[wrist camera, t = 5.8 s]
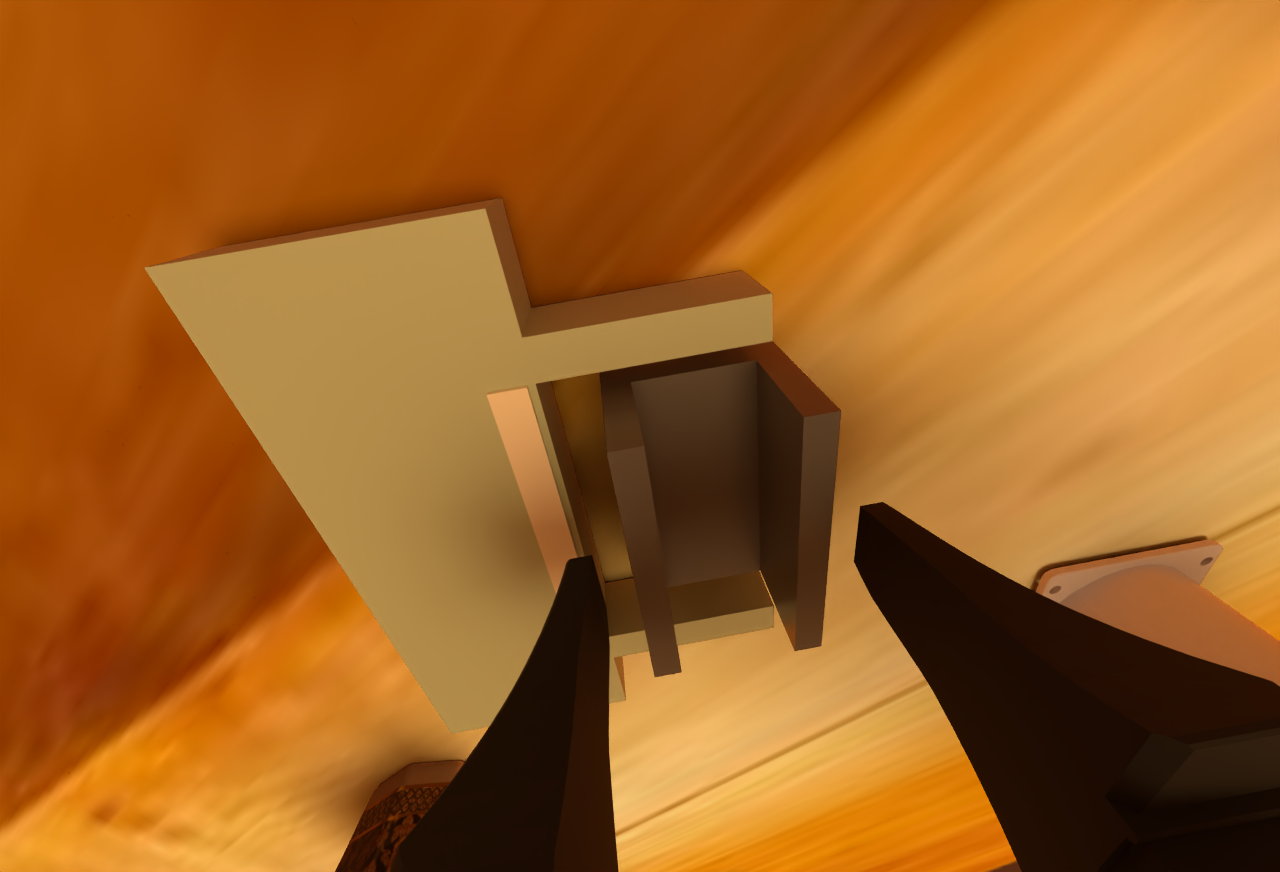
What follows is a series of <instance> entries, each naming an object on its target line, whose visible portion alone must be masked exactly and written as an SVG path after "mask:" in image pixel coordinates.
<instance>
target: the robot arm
mask: <svg viewBox="0 0 1280 872" xmlns="http://www.w3.org/2000/svg"><path fill="white" fill-rule="evenodd" d="M1222 549H1223V548H1222V545H1220V544H1219V543H1217V542H1216V541H1214V540H1203V541H1197V542H1192V543H1187V544H1181V545H1176V546H1171V547H1166V548H1160V549H1155V550H1150V551H1144V552H1139V553H1134V554H1128V555H1123V556H1118V557H1113V558H1107V559H1102V560H1097V561H1091V562H1086V563H1081V564H1075V565H1070V566H1065V567H1059V568H1054V569H1051V570H1049V571H1047V572H1046V573H1044V574H1043V576H1042V577H1041V580H1040V582H1039V584H1038V587H1037V589H1036V592H1035V591H1033V590H1030V589H1028V588H1026V587H1024V586H1022V585H1020V584H1019V583H1017V582H1015V581H1013V580H1011V579H1009V578H1007V577H1005V576H1004V575H1002V574H1000V573H998V572H996V571H994V570H993V569H991V568H989V567H987V566H985V565H984V564H982V563H980V562H978V561H977V560H975V559H973V558H972V557H970V556H968V555H966V554H965V553H963V552H961V551H960V550H958V549H956V548H955V547H953V546H952V545H950V544H948V543H947V542H945V541H943V540H942V539H940V538H939V537H937V536H935V535H934V534H932V533H931V532H929V531H928V530H926V529H925V528H923V527H921V526H920V525H918V524H917V523H915V522H914V521H912V520H911V519H909V518H907V517H906V516H904V515H903V514H901V513H900V512H898V511H897V510H895V509H893V508H892V507H890V506H889V505H887V504H885V503H884V502H880V503H875V504H869V505H864V506H860V513H859V522H858V530H857V539H856V548H855V557H854V563H855V565H856V567H857V569H858V571H859V573H860V575H861V577H862V579H863V581H864V583H865V585H866V587H867V589H868V591H869V593H870V595H871V597H872V598H873V600H874V601H875V603H876V605H877V606H878V608H879V609H880V611H881V612H882V614H883V615H884V617H885V618H886V620H887V621H888V623H889V624H890V626H891V627H892V629H893V630H894V632H895V633H896V635H897V636H898V638H899V639H900V641H901V642H902V644H903V645H904V647H905V648H906V650H907V651H908V653H909V654H910V656H911V657H912V659H913V660H914V662H915V663H916V665H917V666H918V668H919V669H920V671H921V672H922V674H923V676H924V677H925V679H926V680H927V682H928V684H929V685H930V687H931V689H932V690H933V692H934V694H935V696H936V697H937V699H938V701H939V703H940V705H941V707H942V709H943V710H944V712H945V714H946V716H947V718H948V720H949V722H950V723H951V725H952V727H953V729H954V731H955V733H956V735H957V737H958V739H959V741H960V743H961V745H962V746H963V748H964V750H965V752H966V754H967V756H968V758H969V760H970V762H971V764H972V766H973V768H974V770H975V772H976V774H977V776H978V778H979V780H980V782H981V784H982V786H983V789H984V791H985V793H986V795H987V797H988V799H989V801H990V803H991V805H992V807H993V809H994V811H995V813H996V816H997V818H998V820H999V822H1000V824H1001V826H1002V829H1003V831H1004V833H1005V835H1006V837H1007V840H1008V842H1009V844H1010V846H1011V849H1012V851H1013V853H1014V855H1015V857H1016V860H1017V862H1018V864H1019V866H1020V869H1021V870H1022V872H1280V641H1278V640H1277V639H1275V638H1274V637H1273V636H1271V635H1270V634H1268V633H1267V632H1265V631H1264V630H1263V629H1261V628H1260V627H1258V626H1257V625H1256V624H1254V623H1253V622H1251V621H1250V620H1248V619H1247V618H1246V617H1244V616H1243V615H1241V614H1240V613H1239V612H1237V611H1236V610H1234V609H1233V608H1231V607H1230V606H1229V605H1227V604H1226V603H1224V602H1223V601H1222V600H1220V599H1219V598H1217V597H1216V596H1214V595H1213V594H1212V593H1210V592H1209V591H1207V590H1206V589H1205V588H1203V587H1202V586H1200V583H1201V582H1202V580H1203V579H1204V577H1205V576H1206V574H1207V573H1208V571H1209V570H1210V568H1211V567H1212V565H1213V564H1214V562H1215V561H1216V559H1217V558H1218V556H1219V555H1220V553H1221V551H1222ZM609 672H610V641H609V629H608V619H607V608H606V604H605V600H604V596H603V593H602V589H601V585H600V582H599V578H598V574H597V571H596V567H595V563H594V560H593V556H592V555H589V556H583V557H578V558H572V559H569V560H568V561H567V563H566V565H565V569H564V572H563V576H562V579H561V582H560V585H559V588H558V591H557V593H556V596H555V599H554V602H553V604H552V607H551V609H550V612H549V614H548V616H547V619H546V621H545V624H544V626H543V629H542V631H541V633H540V635H539V637H538V640H537V642H536V644H535V646H534V648H533V650H532V652H531V654H530V656H529V658H528V660H527V663H526V664H525V666H524V668H523V670H522V672H521V674H520V676H519V678H518V680H517V681H516V683H515V685H514V687H513V689H512V690H511V692H510V694H509V696H508V697H507V699H506V701H505V702H504V704H503V706H502V707H501V709H500V710H499V712H498V714H497V715H496V717H495V718H494V720H493V722H492V723H491V725H490V726H489V728H488V730H487V731H486V733H485V734H484V736H483V737H482V739H481V740H480V742H479V743H478V744H477V746H476V747H475V749H474V750H473V752H472V753H471V754H470V756H469V757H468V758H467V760H466V761H465V762H464V764H463V765H462V767H461V768H460V769H459V771H458V772H457V773H456V775H455V776H454V778H453V779H452V780H451V782H450V783H449V784H448V786H447V787H446V788H445V790H444V791H443V792H442V793H441V795H440V796H439V797H438V799H437V800H436V801H435V802H434V803H433V805H432V806H431V807H430V808H429V809H428V811H427V812H426V813H425V814H424V816H423V817H422V818H421V819H420V820H419V822H418V823H417V824H416V825H415V826H414V828H413V829H412V830H411V831H410V832H409V834H408V835H407V836H406V837H405V838H404V840H403V841H402V842H401V843H400V844H399V846H398V849H397V851H396V854H395V857H394V859H393V862H392V865H391V868H390V870H389V872H618V861H617V850H616V838H615V825H614V813H613V800H612V787H611V773H610V758H609Z"/></svg>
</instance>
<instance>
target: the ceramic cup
mask: <svg viewBox="0 0 1280 872" xmlns="http://www.w3.org/2000/svg"><path fill="white" fill-rule="evenodd" d="M463 764H464V762H463V761H460V760H455V761H442V762H428V763H414V764H410V765H408V766H407V767H405V768H404V769H402V770H401V771H399V772H398V773H396V774H395V775H393V776H392V777H390V778H389V779H388V780H386V781H385V782H383V783H382V784H380V786H379V787H378V788H377V789H376V790H375V791H374V793H373V795H372V797H371V799H370V801H369V803H368V805H367V807H366V809H365V811H364V813H363V814H362V817H361V819H360V821H359V823H358V825H357V827H356V829H355V832H354V834H353V836H352V838H351V840H350V842H349V844H348V846H347V848H346V850H345V852H344V855H343V857H342V859H341V861H340V863H339V865H338V867H337V869H336V871H335V872H389V870H390V868H391V865H392V862H393V859H394V857H395V854H396V851H397V849H398V846H399V844H400V843H401V842H402V841H403V840H404V838H405V837H406V836H407V835H408V834H409V832H410V831H411V830H412V829H413V828H414V826H415V825H416V824H417V823H418V822H419V820H420V819H421V818H422V817H423V816H424V814H425V813H426V812H427V811H428V809H429V808H430V807H431V806H432V805H433V803H434V802H435V801H436V800H437V799H438V797H439V796H440V795H441V793H442V792H443V791H444V790H445V788H446V787H447V786H448V784H449V783H450V782H451V780H452V779H453V778H454V776H455V775H456V773H457V772H458V771H459V769H460V768H461V767H462V765H463Z"/></svg>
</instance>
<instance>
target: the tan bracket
mask: <svg viewBox="0 0 1280 872" xmlns="http://www.w3.org/2000/svg"><path fill="white" fill-rule="evenodd" d="M145 270H146V271H147V273H148V274H149V276H150V277H151V279H152V280H153V282H154V283H155V285H156V286H157V288H158V289H159V291H160V292H161V294H162V295H163V297H164V298H165V300H166V301H167V303H168V304H169V306H170V307H171V309H172V311H173V312H174V314H175V315H176V317H177V318H178V320H179V321H180V323H181V324H182V326H183V327H184V329H185V330H186V332H187V333H188V335H189V336H190V338H191V339H192V341H193V342H194V344H195V345H196V347H197V348H198V350H199V351H200V353H201V354H202V356H203V358H204V359H205V361H206V362H207V364H208V365H209V367H210V368H211V370H212V371H213V373H214V374H215V376H216V377H217V379H218V380H219V382H220V383H221V385H222V386H223V388H224V389H225V391H226V392H227V394H228V395H229V397H230V398H231V400H232V401H233V403H234V404H235V406H236V408H237V409H238V411H239V412H240V414H241V415H242V417H243V418H244V420H245V421H246V423H247V424H248V426H249V427H250V429H251V430H252V432H253V433H254V435H255V436H256V438H257V439H258V441H259V442H260V444H261V445H262V447H263V448H264V450H265V451H266V453H267V455H268V456H269V458H270V459H271V461H272V462H273V464H274V465H275V467H276V468H277V470H278V471H279V473H280V474H281V476H282V477H283V479H284V480H285V482H286V483H287V485H288V486H289V488H290V489H291V491H292V492H293V494H294V495H295V497H296V498H297V500H298V501H299V503H300V505H301V506H302V508H303V509H304V511H305V512H306V514H307V515H308V517H309V518H310V520H311V521H312V523H313V524H314V526H315V527H316V529H317V530H318V532H319V533H320V535H321V536H322V538H323V539H324V541H325V542H326V544H327V545H328V547H329V548H330V550H331V552H332V553H333V555H334V556H335V558H336V559H337V561H338V562H339V564H340V565H341V567H342V568H343V570H344V571H345V573H346V574H347V576H348V577H349V579H350V580H351V582H352V583H353V585H354V586H355V588H356V589H357V591H358V592H359V594H360V595H361V597H362V598H363V600H364V602H365V603H366V605H367V606H368V608H369V609H370V611H371V612H372V614H373V615H374V617H375V618H376V620H377V621H378V623H379V624H380V626H381V627H382V629H383V630H384V632H385V633H386V635H387V636H388V638H389V639H390V641H391V642H392V644H393V645H394V647H395V649H396V650H397V652H398V653H399V655H400V656H401V658H402V659H403V661H404V662H405V664H406V665H407V667H408V668H409V670H410V671H411V673H412V674H413V676H414V677H415V679H416V680H417V682H418V683H419V685H420V686H421V688H422V689H423V691H424V692H425V694H426V696H427V697H428V699H429V700H430V702H431V703H432V705H433V706H434V708H435V709H436V711H437V712H438V714H439V715H440V717H441V718H442V720H443V721H444V723H445V724H446V726H447V727H448V729H449V730H450V732H451V733H458V732H463V731H468V730H473V729H479V728H484V727H489V726H490V725H491V723H492V722H493V720H494V718H495V717H496V715H497V714H498V712H499V710H500V709H501V707H502V706H503V704H504V702H505V701H506V699H507V697H508V696H509V694H510V692H511V690H512V689H513V687H514V685H515V683H516V681H517V680H518V678H519V676H520V674H521V672H522V670H523V668H524V666H525V664H526V663H527V660H528V658H529V656H530V654H531V652H532V650H533V648H534V646H535V644H536V642H537V640H538V637H539V635H540V633H541V631H542V629H543V626H544V624H545V621H546V619H547V616H548V614H549V612H550V609H551V607H552V604H553V602H554V599H555V596H556V593H557V591H558V588H559V585H560V582H561V579H562V576H563V572H564V569H565V565H566V563H567V561H568V560H569V559H572V558H578V557H583V556H589V555H592V556H593V560H594V563H595V567H596V571H597V574H598V578H599V582H600V585H601V589H602V593H603V596H604V600H605V604H606V608H607V619H608V629H609V641H610V672H609V704H610V703H615V702H621V701H626V694H625V682H624V670H623V658H622V656H626V655H631V654H636V653H641V652H647V651H649V648H648V643H647V638H646V634H645V629H644V625H643V620H642V615H641V611H640V606H639V601H638V597H637V592H636V587H635V583H634V578H630V579H624V580H619V581H614V582H608V583H605V582H604V578H603V574H602V570H601V567H600V563H599V559H598V555H597V552H596V548H595V544H594V541H593V537H592V533H591V529H590V526H589V522H588V518H587V514H586V511H585V507H584V503H583V499H582V496H581V492H580V488H579V484H578V481H577V477H576V473H575V469H574V466H573V462H572V458H571V454H570V451H569V447H568V443H567V439H566V436H565V432H564V428H563V424H562V421H561V417H560V413H559V409H558V406H557V402H556V398H555V394H554V391H553V387H552V383H551V381H553V380H559V379H565V378H570V377H576V376H581V375H587V374H592V373H598V372H604V371H609V370H615V369H620V368H626V367H631V366H637V365H642V364H648V363H654V362H659V361H665V360H670V359H676V358H681V357H687V356H693V355H698V354H704V353H709V352H715V351H720V350H726V349H731V348H737V347H743V346H748V345H754V344H759V343H765V342H770V341H773V310H772V293H771V292H770V291H769V290H767V289H766V288H765V287H763V286H762V285H761V284H760V283H758V282H757V281H756V280H754V279H753V278H752V277H750V276H749V275H748V274H746V273H745V272H744V271H736V272H731V273H725V274H719V275H714V276H708V277H702V278H697V279H691V280H686V281H680V282H674V283H669V284H663V285H657V286H652V287H646V288H640V289H635V290H629V291H624V292H618V293H612V294H607V295H601V296H595V297H590V298H584V299H578V300H573V301H567V302H562V303H556V304H550V305H545V306H539V307H533V308H531V304H530V301H529V297H528V293H527V289H526V286H525V282H524V278H523V274H522V271H521V267H520V263H519V259H518V256H517V252H516V248H515V244H514V241H513V237H512V233H511V229H510V226H509V222H508V218H507V214H506V211H505V207H504V203H503V199H502V198H498V199H492V200H486V201H481V202H475V203H469V204H463V205H457V206H452V207H446V208H440V209H434V210H429V211H423V212H417V213H411V214H406V215H400V216H394V217H388V218H383V219H377V220H371V221H365V222H360V223H354V224H348V225H342V226H337V227H331V228H325V229H319V230H314V231H308V232H302V233H296V234H291V235H285V236H279V237H273V238H268V239H262V240H256V241H250V242H245V243H239V244H233V245H227V246H222V247H218V248H215V249H211V250H207V251H204V252H200V253H196V254H193V255H189V256H186V257H182V258H178V259H175V260H171V261H167V262H164V263H160V264H157V265H153V266H149V267H146V268H145ZM668 593H669V599H670V605H671V611H672V617H673V623H674V629H675V635H676V641H677V646H679V645H684V644H689V643H694V642H700V641H705V640H710V639H716V638H721V637H726V636H731V635H737V634H742V633H747V632H753V631H758V630H763V629H769V628H774V605H773V603H772V601H771V598H770V596H769V594H768V591H767V589H766V586H765V584H764V582H763V579H762V577H761V575H760V572H759V571H754V572H749V573H743V574H738V575H732V576H727V577H721V578H716V579H710V580H705V581H700V582H694V583H689V584H683V585H678V586H672V587H668Z"/></svg>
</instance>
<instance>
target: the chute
mask: <svg viewBox="0 0 1280 872" xmlns="http://www.w3.org/2000/svg"><path fill="white" fill-rule="evenodd" d="M600 383H601V394H602V406H603V418H604V430H605V441H606V453H607V458H608V462H609V467H610V471H611V476H612V481H613V485H614V490H615V495H616V499H617V504H618V509H619V513H620V518H621V523H622V527H623V532H624V536H625V541H626V546H627V550H628V555H629V560H630V564H631V569H632V574H633V578H634V583H635V587H636V592H637V597H638V601H639V606H640V611H641V615H642V620H643V625H644V629H645V634H646V638H647V643H648V648H649V652H650V657H651V662H652V666H653V671H654V676H655V677H659V676H664V675H669V674H675V673H680V672H681V666H680V660H679V653H678V647H677V641H676V635H675V629H674V623H673V617H672V611H671V605H670V599H669V593H668V587H672V586H678V585H683V584H689V583H694V582H700V581H705V580H710V579H716V578H721V577H727V576H732V575H738V574H743V573H749V572H754V571H759V570H761V573H762V575H763V577H764V580H765V582H766V585H767V587H768V589H769V592H770V594H771V596H772V599H773V601H774V603H775V606H776V608H777V610H778V613H779V615H780V618H781V620H782V622H783V625H784V627H785V629H786V632H787V634H788V636H789V639H790V641H791V643H792V646H793V648H794V650H795V651H798V650H803V649H809V648H814V647H819V646H821V643H822V631H823V620H824V608H825V596H826V584H827V572H828V560H829V548H830V537H831V525H832V513H833V501H834V489H835V477H836V465H837V454H838V442H839V430H840V418H841V410H840V409H839V408H838V407H837V406H836V405H835V404H834V403H833V402H832V401H831V400H830V399H829V398H828V397H827V396H826V395H825V394H824V393H823V392H822V391H821V390H820V389H819V388H818V387H817V386H816V385H815V384H814V383H813V382H812V381H811V380H810V379H809V378H808V377H807V376H806V375H805V374H804V373H803V372H802V371H801V370H800V369H799V368H798V367H797V366H796V365H795V364H794V363H793V362H792V361H791V360H790V359H789V357H788V356H787V355H786V354H785V353H784V352H783V351H782V350H781V349H780V348H779V347H778V346H777V345H776V344H775V343H774V342H773V341H770V342H765V343H759V344H754V345H748V346H743V347H737V348H731V349H726V350H720V351H715V352H709V353H704V354H698V355H693V356H687V357H681V358H676V359H670V360H665V361H659V362H654V363H648V364H642V365H637V366H631V367H626V368H620V369H615V370H609V371H604V372H600Z"/></svg>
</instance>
